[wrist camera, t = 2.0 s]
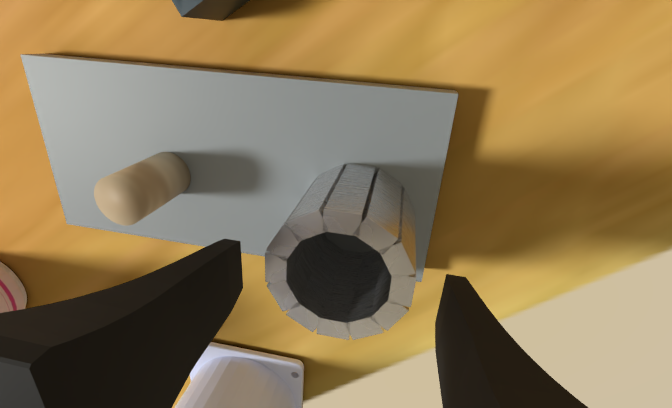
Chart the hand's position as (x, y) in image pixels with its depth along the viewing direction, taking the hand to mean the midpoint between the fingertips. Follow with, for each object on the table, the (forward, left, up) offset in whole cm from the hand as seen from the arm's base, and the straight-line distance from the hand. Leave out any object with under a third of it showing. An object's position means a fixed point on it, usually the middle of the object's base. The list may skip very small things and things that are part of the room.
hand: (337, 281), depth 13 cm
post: (+1, +10, -5) cm, 11 cm away
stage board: (+1, +7, -6) cm, 9 cm away
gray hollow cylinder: (0, 0, -5) cm, 5 cm away
